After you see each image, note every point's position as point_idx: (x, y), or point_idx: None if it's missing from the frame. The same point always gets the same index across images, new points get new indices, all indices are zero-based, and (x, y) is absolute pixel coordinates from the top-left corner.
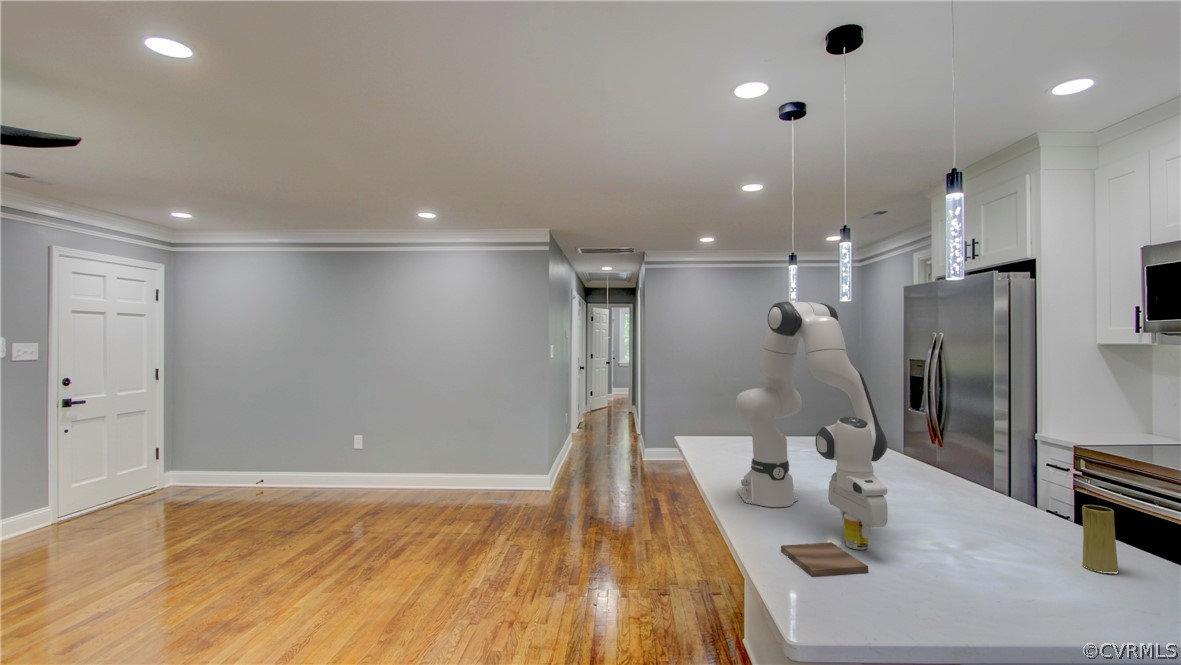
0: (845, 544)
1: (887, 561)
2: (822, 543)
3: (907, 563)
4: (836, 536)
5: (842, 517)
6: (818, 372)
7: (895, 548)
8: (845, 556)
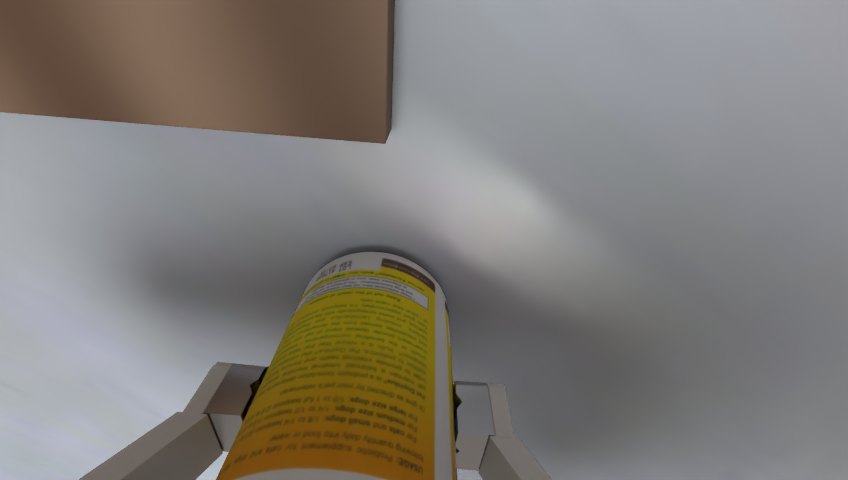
0: (401, 257)
1: (152, 316)
2: (369, 21)
3: (140, 374)
4: (576, 300)
5: (529, 464)
6: None
7: None
8: (1, 34)
